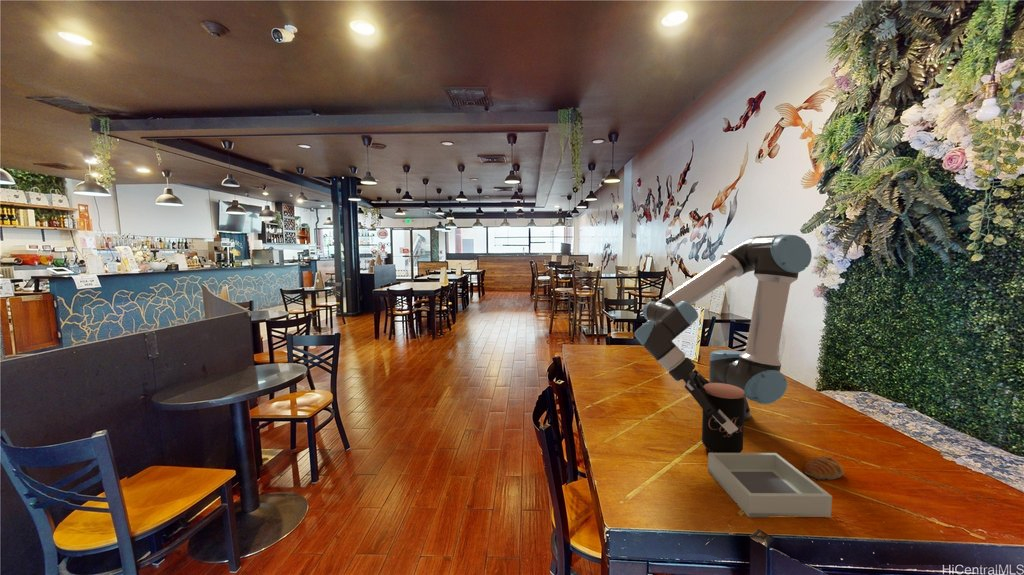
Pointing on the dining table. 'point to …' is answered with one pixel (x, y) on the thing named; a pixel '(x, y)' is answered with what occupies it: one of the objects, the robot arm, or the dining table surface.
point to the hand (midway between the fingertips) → (734, 423)
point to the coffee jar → (733, 408)
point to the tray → (768, 485)
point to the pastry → (823, 468)
